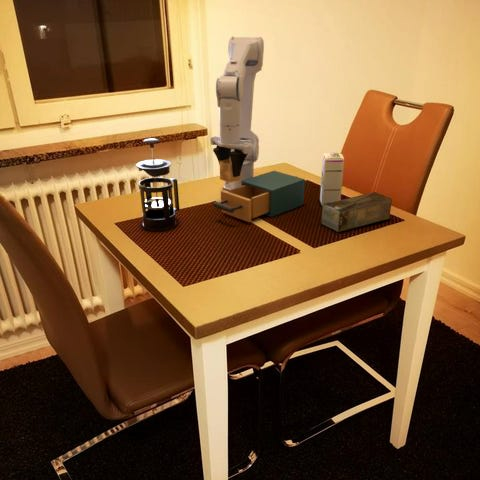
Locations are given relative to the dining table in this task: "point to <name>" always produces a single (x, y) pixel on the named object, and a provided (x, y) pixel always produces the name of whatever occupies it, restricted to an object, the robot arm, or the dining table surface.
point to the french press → (157, 208)
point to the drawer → (244, 202)
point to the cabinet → (279, 190)
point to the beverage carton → (356, 211)
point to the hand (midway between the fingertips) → (230, 174)
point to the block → (227, 171)
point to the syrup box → (331, 177)
